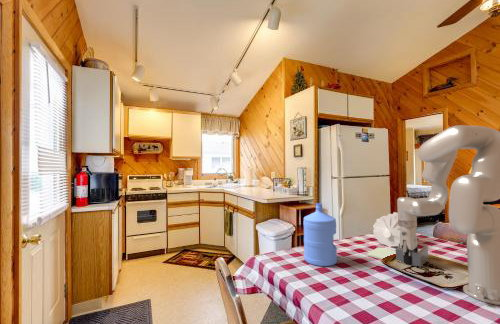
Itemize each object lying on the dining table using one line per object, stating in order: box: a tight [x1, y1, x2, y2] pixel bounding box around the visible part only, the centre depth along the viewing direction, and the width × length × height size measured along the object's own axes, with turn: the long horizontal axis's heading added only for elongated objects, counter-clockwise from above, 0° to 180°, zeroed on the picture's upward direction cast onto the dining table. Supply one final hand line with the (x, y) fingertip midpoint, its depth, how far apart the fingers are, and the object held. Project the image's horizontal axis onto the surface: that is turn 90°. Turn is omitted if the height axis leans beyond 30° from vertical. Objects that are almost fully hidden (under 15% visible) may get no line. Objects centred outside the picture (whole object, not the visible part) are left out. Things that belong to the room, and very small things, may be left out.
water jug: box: [303, 202, 338, 267], centre depth 118 cm, size 16×16×28 cm
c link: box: [395, 245, 429, 268], centre depth 117 cm, size 14×10×6 cm
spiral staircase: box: [372, 211, 400, 248], centre depth 144 cm, size 18×18×25 cm
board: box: [366, 246, 396, 260], centre depth 125 cm, size 16×11×1 cm
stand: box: [413, 238, 419, 252], centre depth 120 cm, size 4×4×10 cm
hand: (408, 262), depth 113 cm, fingers closed on c link
